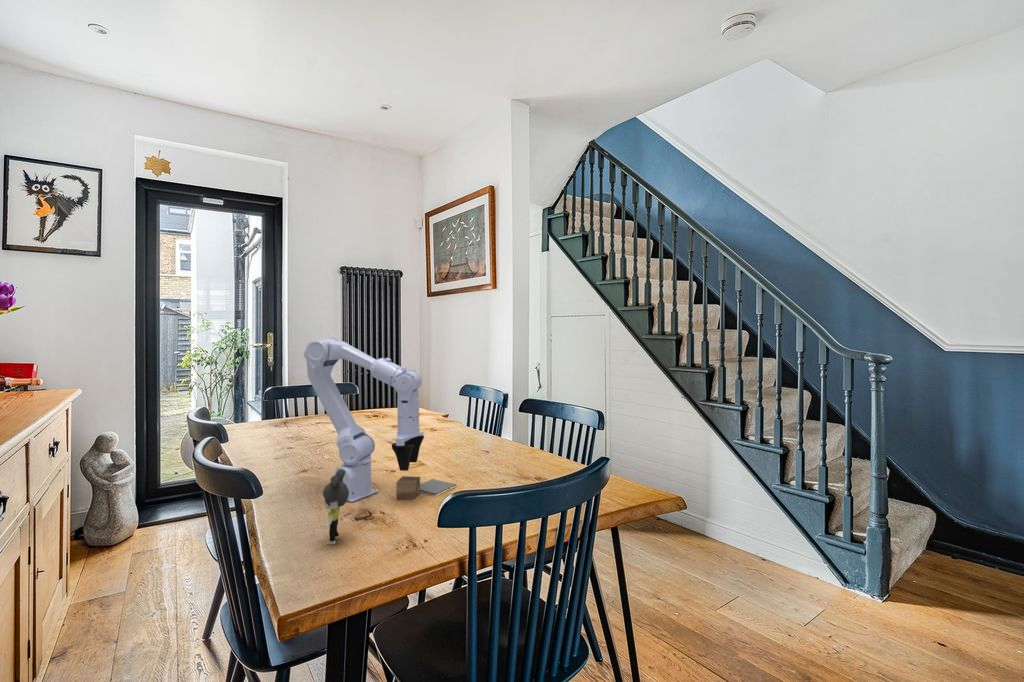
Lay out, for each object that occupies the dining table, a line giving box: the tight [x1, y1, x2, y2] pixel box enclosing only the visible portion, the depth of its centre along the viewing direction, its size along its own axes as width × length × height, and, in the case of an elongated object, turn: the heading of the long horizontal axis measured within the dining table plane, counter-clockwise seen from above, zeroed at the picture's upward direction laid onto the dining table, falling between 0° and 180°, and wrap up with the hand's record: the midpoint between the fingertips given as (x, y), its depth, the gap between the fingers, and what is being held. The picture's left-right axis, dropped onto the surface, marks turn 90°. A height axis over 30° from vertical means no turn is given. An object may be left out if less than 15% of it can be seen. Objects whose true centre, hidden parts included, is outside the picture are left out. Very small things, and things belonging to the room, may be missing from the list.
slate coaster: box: [420, 478, 458, 496], centre depth 142 cm, size 9×9×1 cm
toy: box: [322, 469, 349, 545], centre depth 108 cm, size 8×5×15 cm, turn 4°
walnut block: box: [395, 475, 421, 501], centre depth 135 cm, size 5×5×5 cm
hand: (408, 466), depth 135 cm, fingers open, 7 cm apart
